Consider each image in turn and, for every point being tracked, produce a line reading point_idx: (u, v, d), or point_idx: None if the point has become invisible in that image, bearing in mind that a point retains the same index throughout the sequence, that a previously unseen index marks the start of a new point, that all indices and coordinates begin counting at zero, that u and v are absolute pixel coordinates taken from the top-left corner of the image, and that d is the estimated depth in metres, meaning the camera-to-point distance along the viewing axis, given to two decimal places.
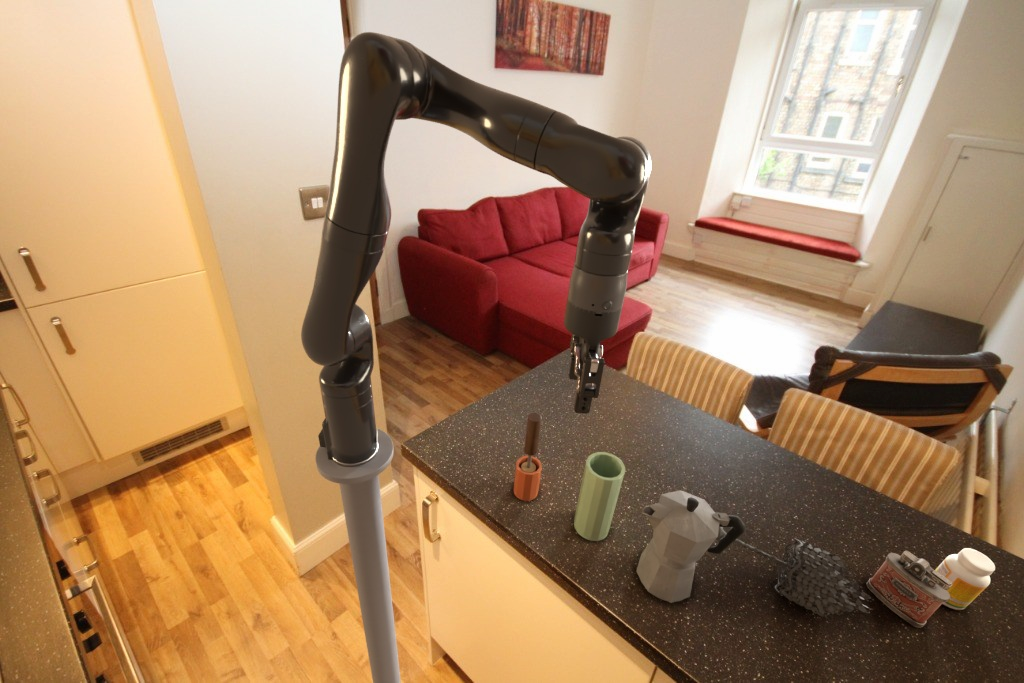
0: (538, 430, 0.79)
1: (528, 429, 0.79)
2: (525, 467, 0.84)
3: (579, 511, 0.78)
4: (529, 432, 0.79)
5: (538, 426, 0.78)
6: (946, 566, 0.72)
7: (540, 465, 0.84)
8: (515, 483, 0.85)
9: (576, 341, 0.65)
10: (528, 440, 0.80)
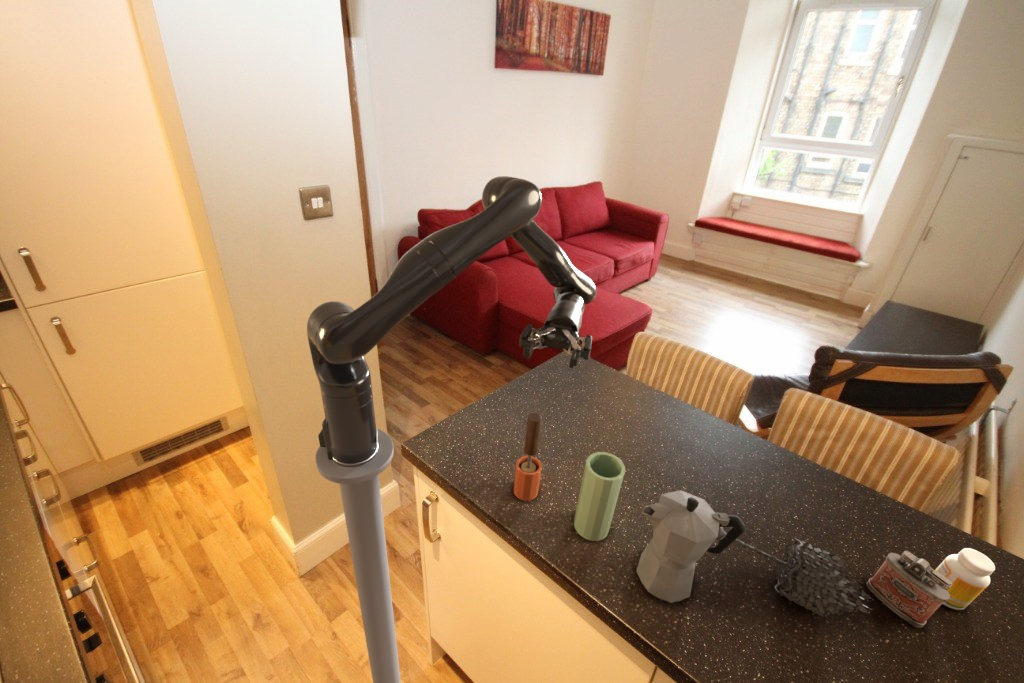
0: (538, 430, 0.79)
1: (528, 429, 0.79)
2: (525, 467, 0.84)
3: (579, 511, 0.78)
4: (529, 432, 0.79)
5: (538, 426, 0.78)
6: (946, 566, 0.72)
7: (540, 465, 0.84)
8: (515, 483, 0.85)
9: (555, 331, 0.91)
10: (528, 440, 0.80)
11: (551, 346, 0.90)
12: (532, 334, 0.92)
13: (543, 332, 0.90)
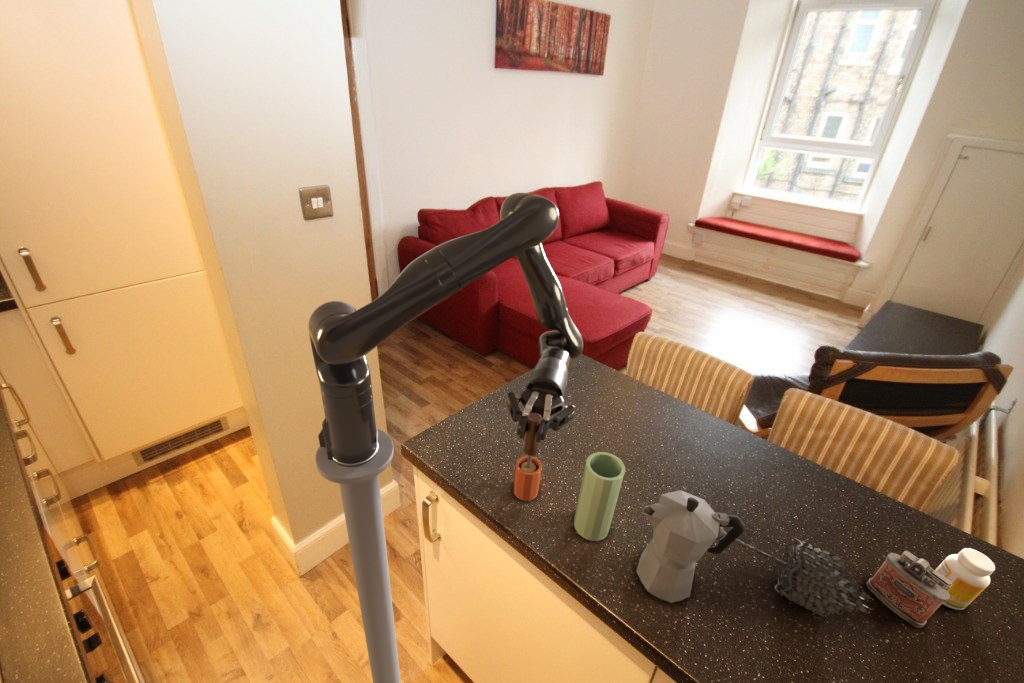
0: None
1: (528, 429, 0.79)
2: (525, 467, 0.84)
3: (579, 511, 0.78)
4: (528, 432, 0.79)
5: (538, 426, 0.78)
6: (946, 566, 0.72)
7: (540, 465, 0.84)
8: (515, 483, 0.85)
9: (538, 395, 0.85)
10: (528, 440, 0.80)
11: None
12: (517, 402, 0.84)
13: (531, 401, 0.82)
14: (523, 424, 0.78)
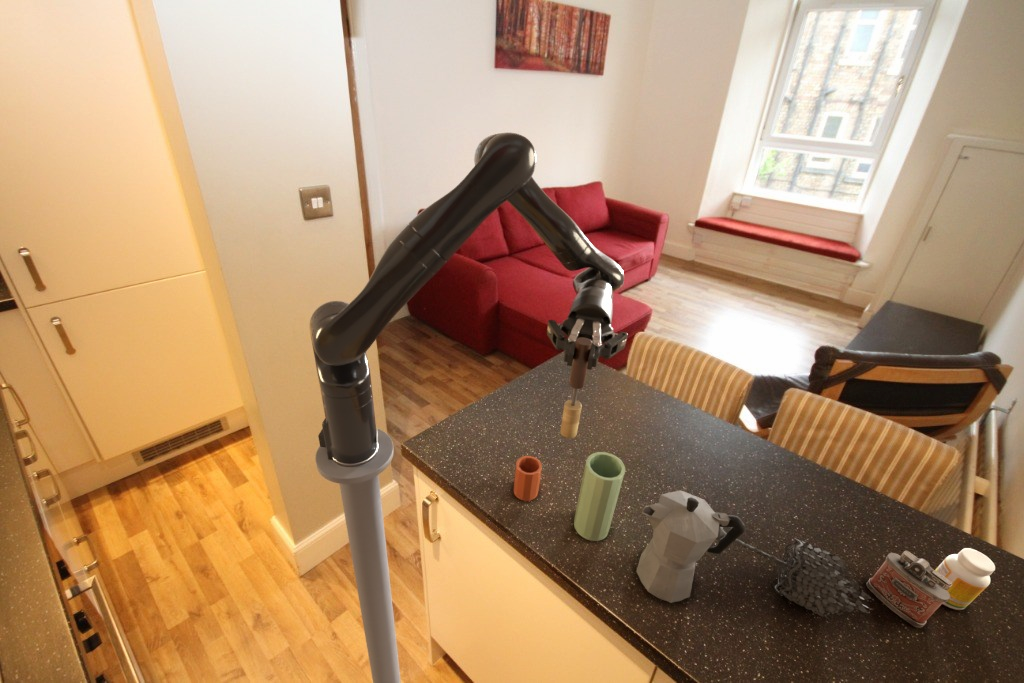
0: (588, 357, 0.67)
1: (576, 356, 0.67)
2: (569, 404, 0.73)
3: (579, 511, 0.78)
4: (576, 359, 0.67)
5: (588, 352, 0.67)
6: (946, 566, 0.72)
7: (540, 465, 0.84)
8: (515, 483, 0.85)
9: (583, 322, 0.73)
10: (575, 370, 0.68)
11: None
12: None
13: (577, 327, 0.71)
14: (571, 349, 0.66)
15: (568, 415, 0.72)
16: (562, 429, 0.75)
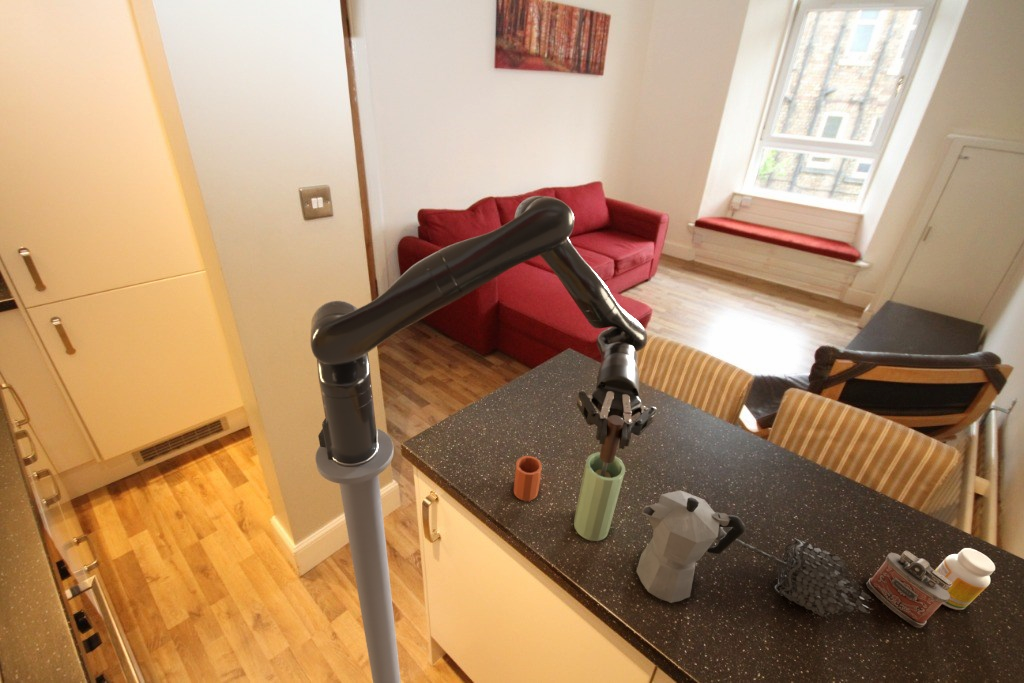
0: (619, 435, 0.70)
1: (608, 433, 0.70)
2: None
3: (579, 511, 0.78)
4: (608, 436, 0.70)
5: (620, 430, 0.69)
6: (946, 566, 0.72)
7: (540, 465, 0.84)
8: (515, 483, 0.85)
9: None
10: (606, 446, 0.71)
11: None
12: None
13: (607, 402, 0.73)
14: (604, 428, 0.69)
15: None
16: None
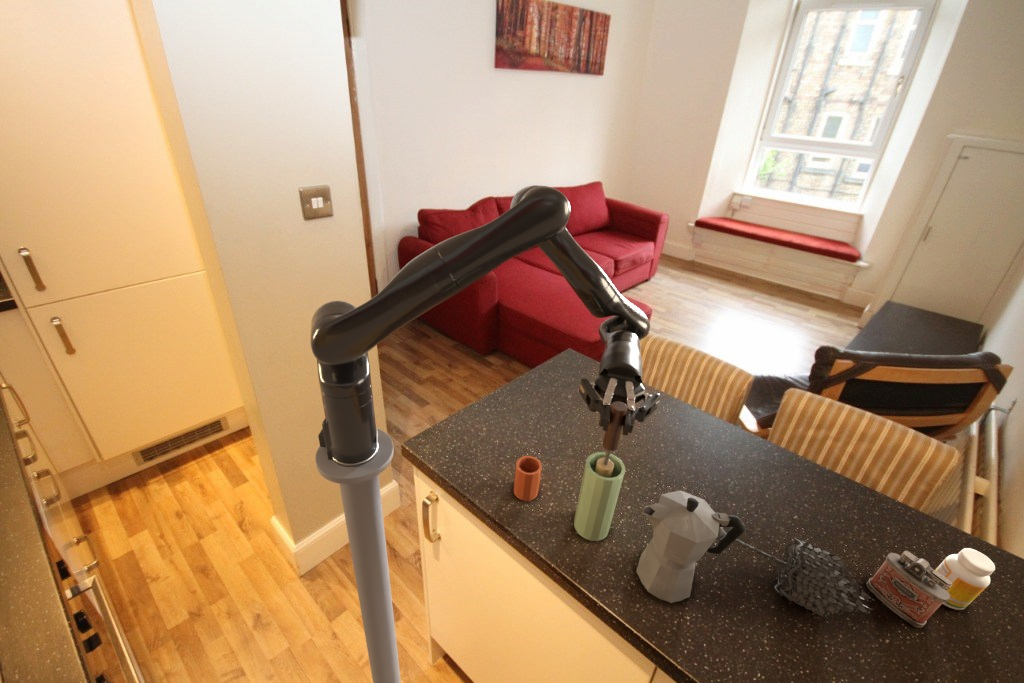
0: (623, 421, 0.68)
1: (611, 420, 0.68)
2: (602, 463, 0.74)
3: (579, 511, 0.78)
4: (612, 423, 0.68)
5: (623, 416, 0.68)
6: (946, 566, 0.72)
7: (540, 465, 0.84)
8: (515, 483, 0.85)
9: (616, 382, 0.74)
10: (610, 433, 0.69)
11: None
12: None
13: (610, 389, 0.72)
14: (607, 414, 0.67)
15: (601, 474, 0.73)
16: None
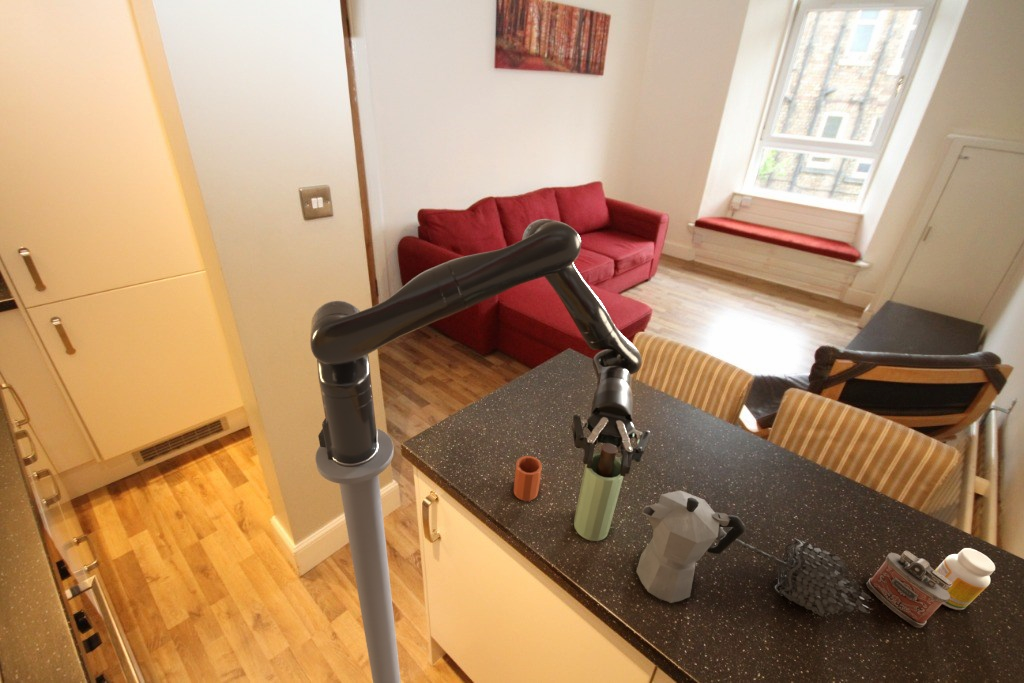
0: (613, 462, 0.73)
1: (602, 461, 0.73)
2: None
3: (579, 511, 0.78)
4: (602, 464, 0.73)
5: (613, 458, 0.72)
6: (946, 566, 0.72)
7: (540, 465, 0.84)
8: (515, 483, 0.85)
9: (607, 421, 0.78)
10: (601, 473, 0.74)
11: (604, 441, 0.77)
12: (583, 428, 0.79)
13: (598, 427, 0.76)
14: (590, 452, 0.72)
15: None
16: None
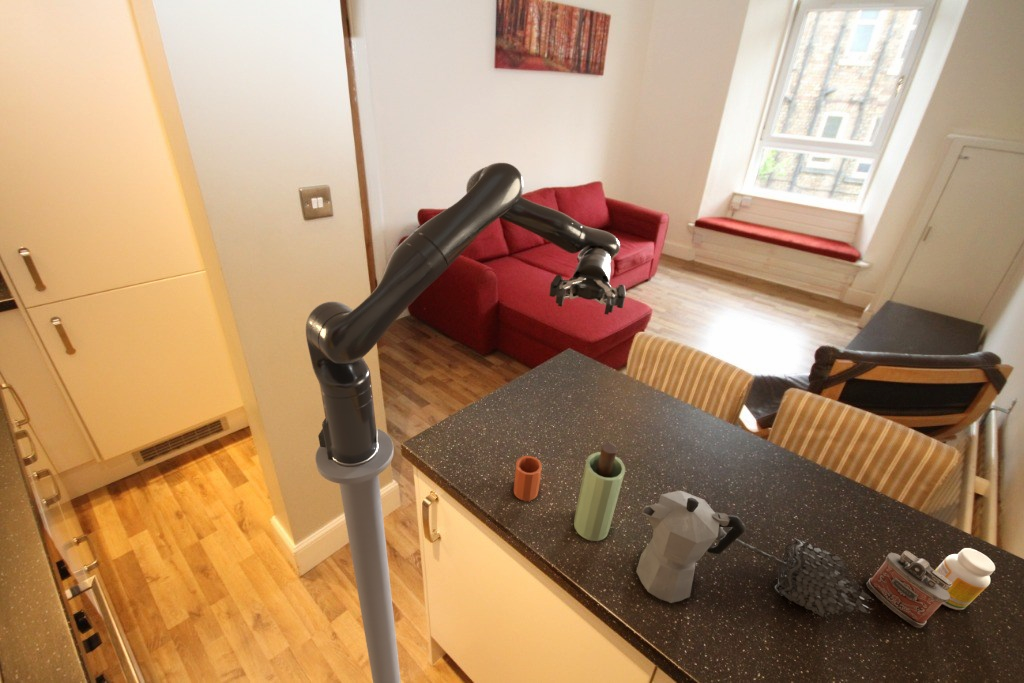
0: (613, 462, 0.73)
1: (602, 461, 0.73)
2: None
3: (579, 511, 0.78)
4: (602, 464, 0.73)
5: (613, 458, 0.72)
6: (946, 566, 0.72)
7: (540, 465, 0.84)
8: (515, 483, 0.85)
9: (586, 280, 0.88)
10: (601, 473, 0.74)
11: (582, 295, 0.86)
12: (562, 284, 0.89)
13: (574, 281, 0.86)
14: (561, 293, 0.82)
15: None
16: None
